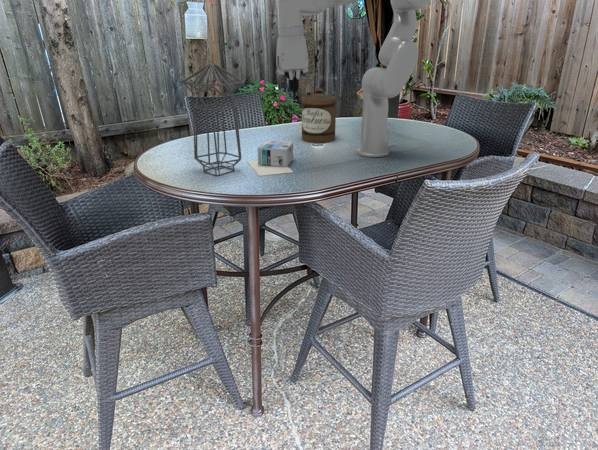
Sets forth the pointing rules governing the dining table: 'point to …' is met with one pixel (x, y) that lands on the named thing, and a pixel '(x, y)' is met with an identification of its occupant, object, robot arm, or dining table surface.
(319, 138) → the wooden container
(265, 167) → the mat
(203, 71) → the geometric lantern
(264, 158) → the light bulb box
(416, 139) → the dining table surface
